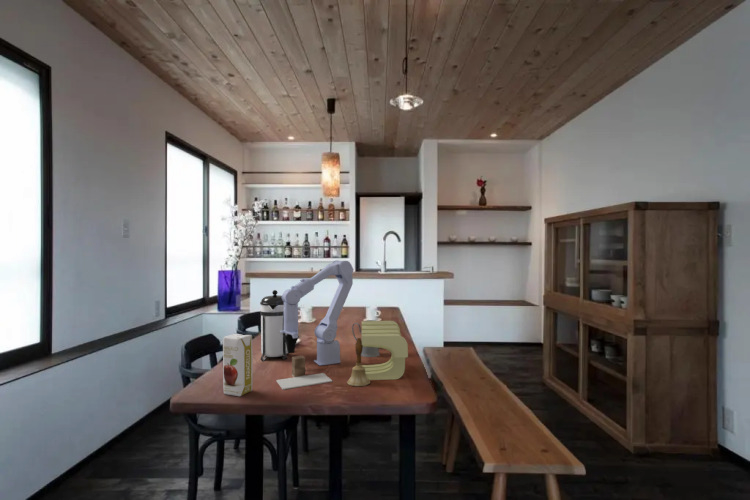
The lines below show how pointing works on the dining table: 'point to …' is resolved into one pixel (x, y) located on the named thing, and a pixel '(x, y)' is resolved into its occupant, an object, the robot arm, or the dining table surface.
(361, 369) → the hand bell
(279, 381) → the felt mat
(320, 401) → the dining table surface
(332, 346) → the robot arm
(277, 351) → the coffee press
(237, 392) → the juice carton
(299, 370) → the walnut block
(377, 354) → the glass holder
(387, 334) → the slatted curved stool
